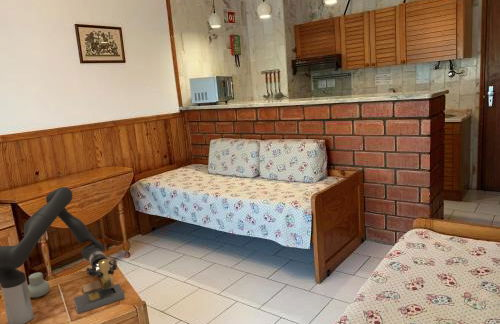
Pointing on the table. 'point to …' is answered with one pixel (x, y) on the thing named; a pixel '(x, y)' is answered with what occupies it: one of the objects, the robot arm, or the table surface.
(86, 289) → the pad
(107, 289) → the rack plate
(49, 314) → the table surface
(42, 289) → the air freshener
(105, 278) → the peg
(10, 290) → the robot arm
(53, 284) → the table surface
